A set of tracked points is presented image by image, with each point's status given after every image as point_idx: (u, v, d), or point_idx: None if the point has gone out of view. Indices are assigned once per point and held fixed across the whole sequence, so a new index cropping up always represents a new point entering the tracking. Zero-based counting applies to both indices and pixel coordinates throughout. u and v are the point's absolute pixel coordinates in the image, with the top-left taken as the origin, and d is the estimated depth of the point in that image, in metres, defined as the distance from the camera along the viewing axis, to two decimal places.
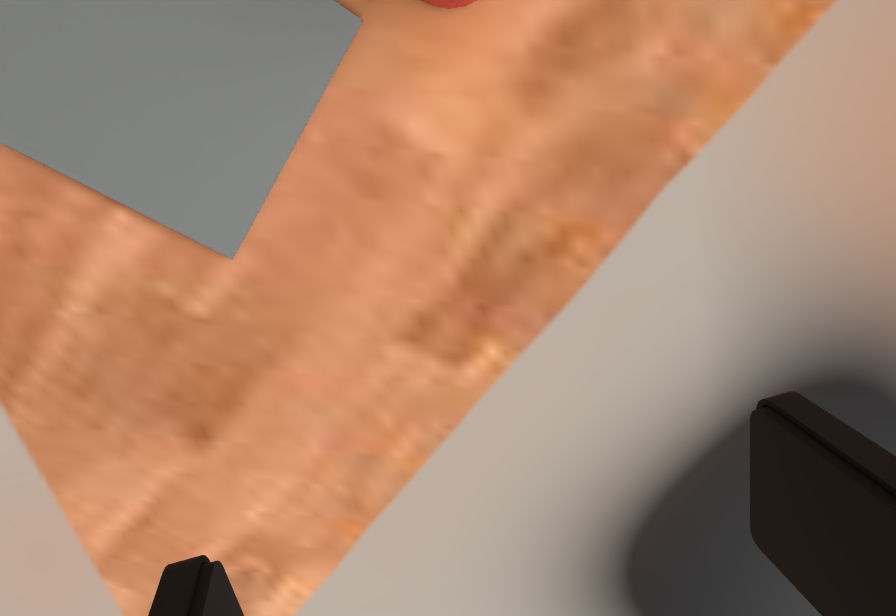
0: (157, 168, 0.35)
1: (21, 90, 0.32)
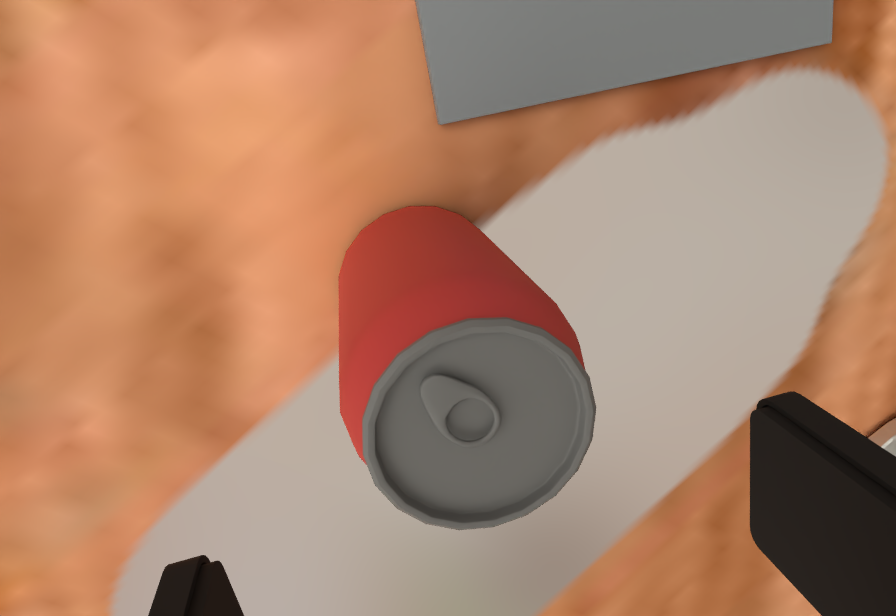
0: None
1: None
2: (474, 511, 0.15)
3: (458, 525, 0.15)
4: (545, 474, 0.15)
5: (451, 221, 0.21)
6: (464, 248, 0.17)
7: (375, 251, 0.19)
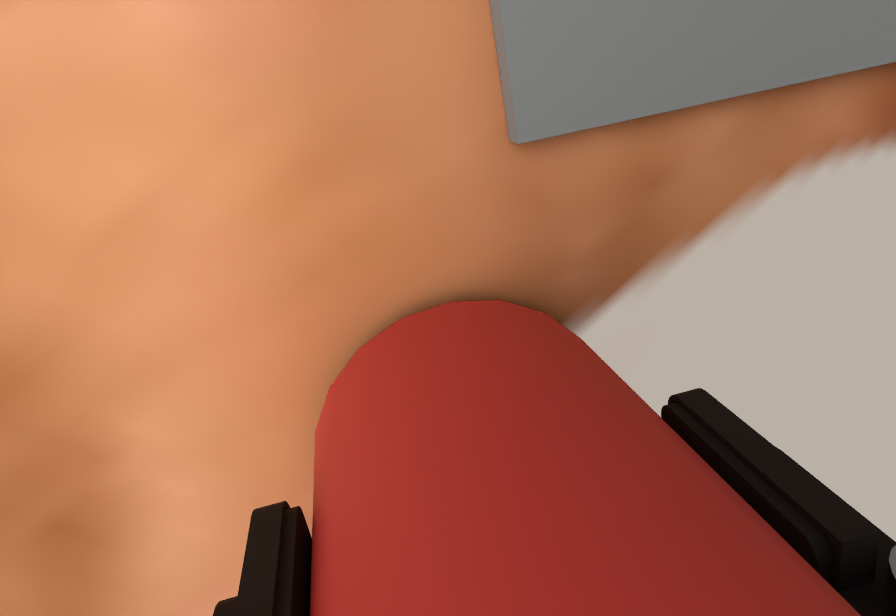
0: None
1: None
2: None
3: None
4: None
5: (554, 356, 0.10)
6: (671, 530, 0.06)
7: (396, 458, 0.08)
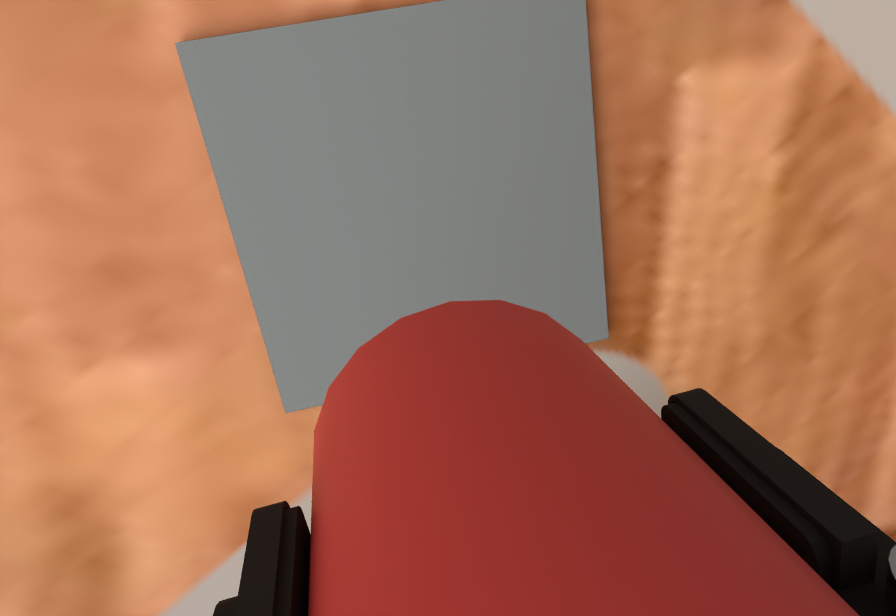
0: (349, 95, 0.24)
1: (529, 71, 0.25)
2: None
3: None
4: None
5: (553, 356, 0.10)
6: (669, 530, 0.06)
7: (395, 457, 0.08)
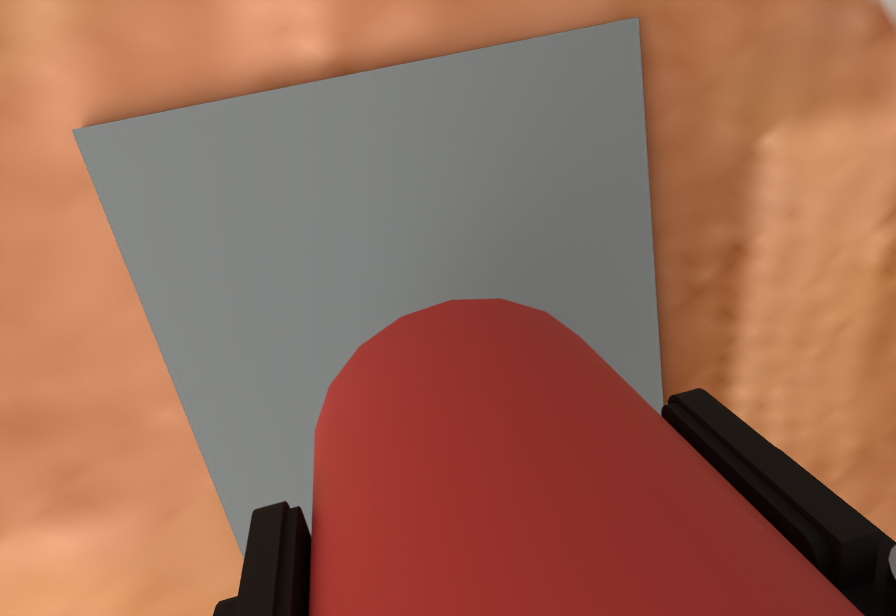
0: (321, 187, 0.18)
1: (564, 144, 0.19)
2: None
3: None
4: None
5: (554, 354, 0.10)
6: (671, 527, 0.06)
7: (396, 456, 0.08)
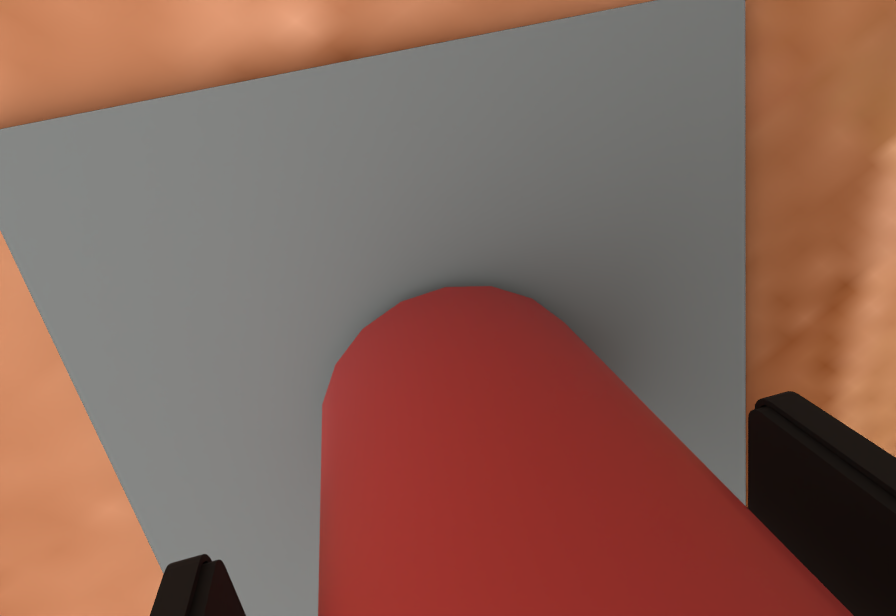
0: (312, 215, 0.13)
1: (638, 155, 0.14)
2: None
3: None
4: None
5: (535, 333, 0.11)
6: (618, 466, 0.07)
7: (394, 417, 0.09)
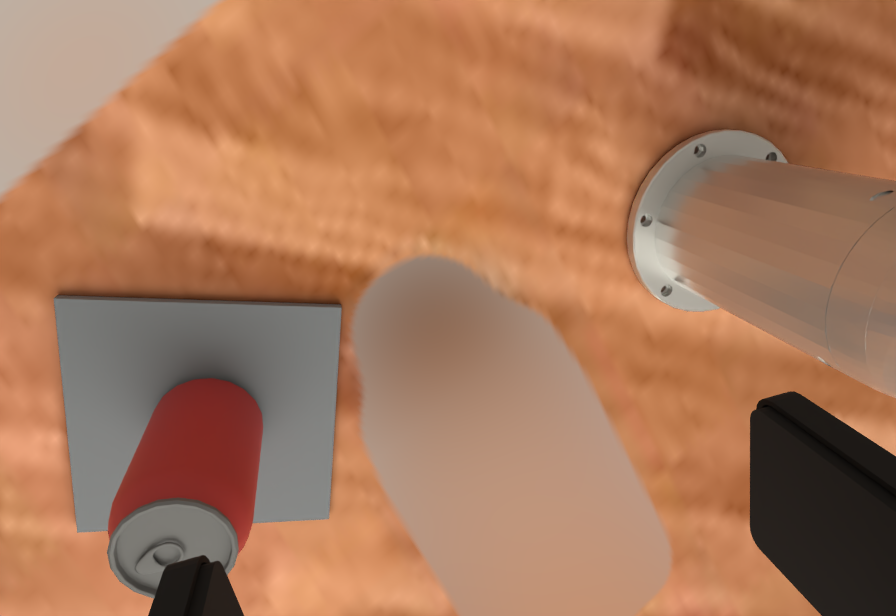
0: (120, 452, 0.38)
1: (117, 343, 0.36)
2: (229, 554, 0.29)
3: (228, 567, 0.29)
4: (216, 521, 0.28)
5: (146, 429, 0.34)
6: None
7: None
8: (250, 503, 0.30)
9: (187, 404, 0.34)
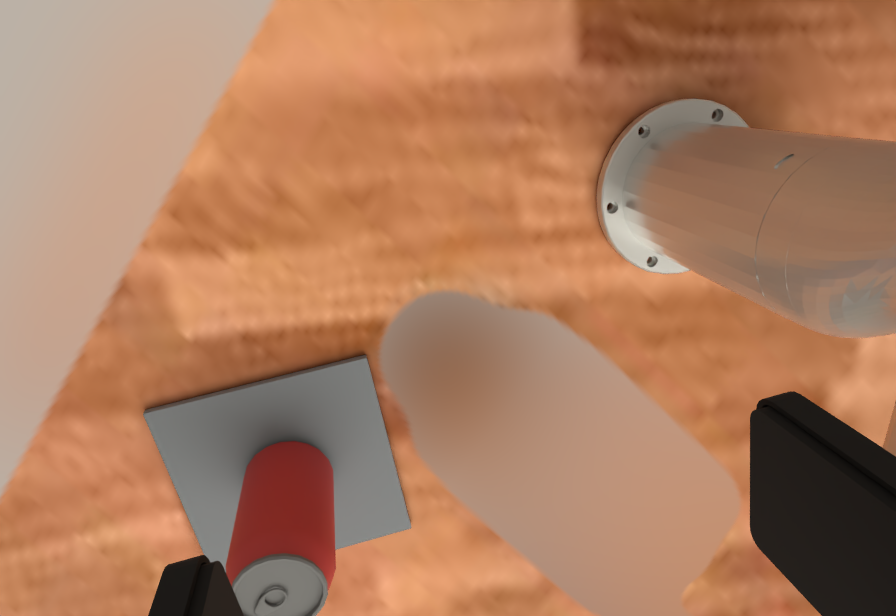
0: (229, 515, 0.47)
1: (200, 434, 0.44)
2: (321, 586, 0.36)
3: (323, 596, 0.36)
4: (303, 565, 0.35)
5: None
6: None
7: None
8: (328, 542, 0.37)
9: (264, 471, 0.42)
